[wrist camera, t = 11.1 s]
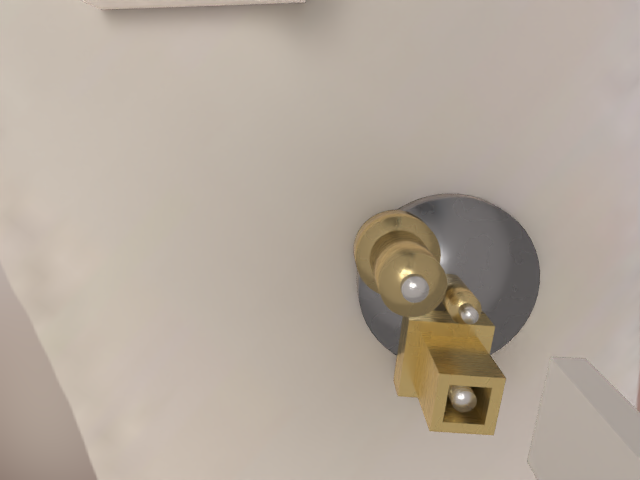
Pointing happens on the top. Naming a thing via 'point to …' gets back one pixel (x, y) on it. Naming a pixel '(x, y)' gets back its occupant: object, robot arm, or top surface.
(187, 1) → the bracket
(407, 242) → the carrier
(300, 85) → the top surface
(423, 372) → the brass square sleeve
